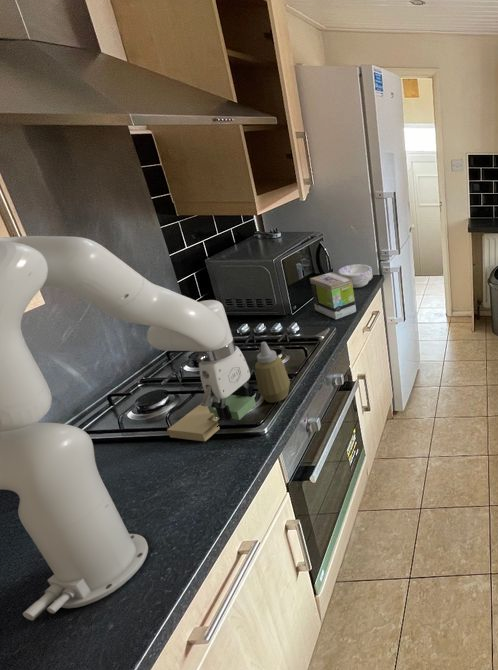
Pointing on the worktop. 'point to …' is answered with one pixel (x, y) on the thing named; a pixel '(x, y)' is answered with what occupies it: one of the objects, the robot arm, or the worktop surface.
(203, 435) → the beige pad
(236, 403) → the green pad
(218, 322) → the robot arm
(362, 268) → the paper bowls
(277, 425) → the worktop surface
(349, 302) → the tea box
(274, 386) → the squeeze bottle
